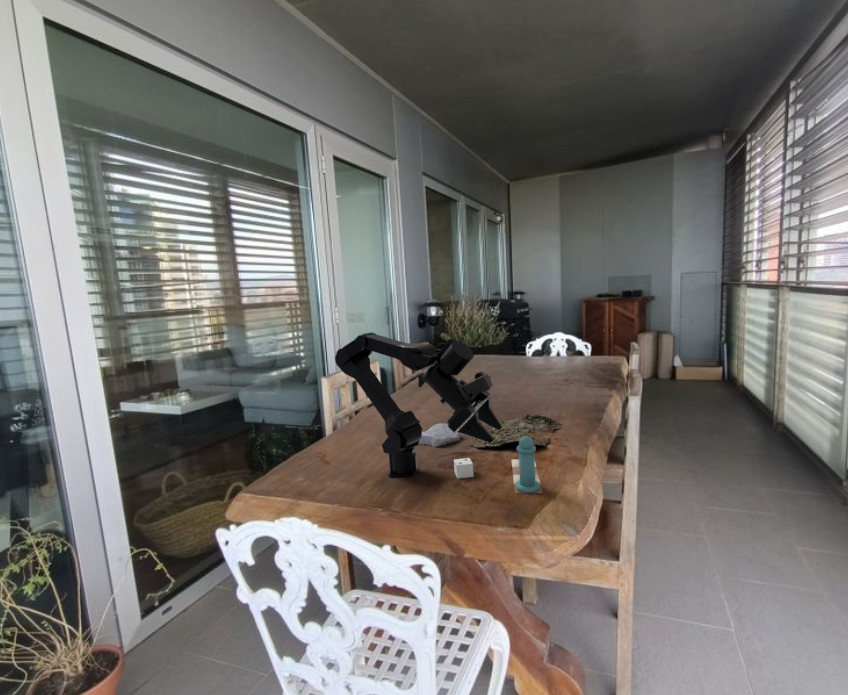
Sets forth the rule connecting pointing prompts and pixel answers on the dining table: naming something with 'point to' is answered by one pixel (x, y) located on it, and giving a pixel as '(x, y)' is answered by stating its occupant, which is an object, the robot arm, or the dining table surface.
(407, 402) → the dining table surface
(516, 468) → the board
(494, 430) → the terrain model
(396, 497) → the dining table surface
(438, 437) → the stone block
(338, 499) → the dining table surface
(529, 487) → the pawn
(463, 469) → the die
